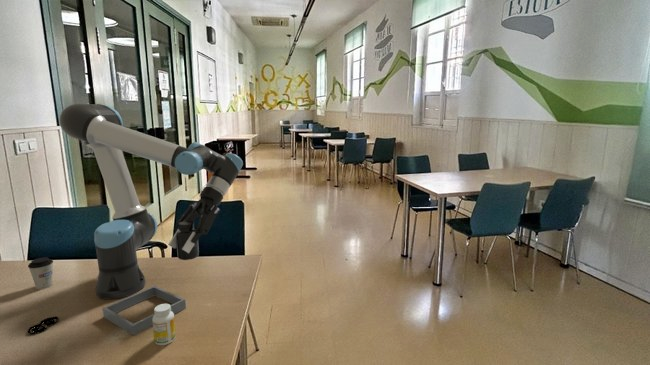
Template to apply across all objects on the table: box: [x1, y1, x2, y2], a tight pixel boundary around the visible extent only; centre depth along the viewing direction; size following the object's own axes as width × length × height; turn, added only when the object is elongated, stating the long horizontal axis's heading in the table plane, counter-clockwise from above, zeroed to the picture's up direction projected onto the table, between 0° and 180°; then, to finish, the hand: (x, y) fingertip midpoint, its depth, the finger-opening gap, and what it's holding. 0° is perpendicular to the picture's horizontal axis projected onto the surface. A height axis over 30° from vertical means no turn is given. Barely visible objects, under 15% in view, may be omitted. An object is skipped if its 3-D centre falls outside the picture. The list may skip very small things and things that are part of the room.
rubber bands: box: [27, 315, 59, 335], centre depth 101 cm, size 5×8×1 cm, turn 169°
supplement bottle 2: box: [176, 221, 200, 261], centre depth 117 cm, size 7×7×12 cm
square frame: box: [102, 285, 187, 336], centre depth 107 cm, size 17×17×3 cm
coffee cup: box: [27, 256, 54, 290], centre depth 123 cm, size 7×7×10 cm
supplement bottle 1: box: [152, 303, 177, 346], centre depth 94 cm, size 5×5×10 cm
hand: (178, 248), depth 115 cm, fingers closed on supplement bottle 2, 7 cm apart
